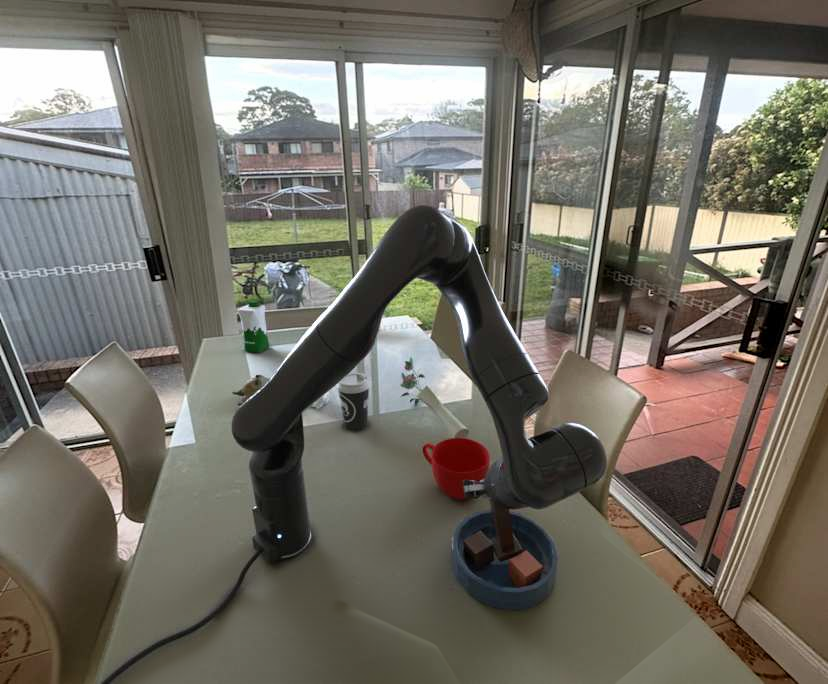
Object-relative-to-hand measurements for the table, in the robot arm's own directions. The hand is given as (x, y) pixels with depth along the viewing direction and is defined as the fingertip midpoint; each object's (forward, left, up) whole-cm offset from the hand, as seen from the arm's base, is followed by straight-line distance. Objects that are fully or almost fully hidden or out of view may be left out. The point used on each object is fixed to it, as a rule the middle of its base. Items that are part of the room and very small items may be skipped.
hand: (493, 490), depth 78 cm
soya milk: (+30, +129, -15) cm, 133 cm away
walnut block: (-2, +1, -15) cm, 15 cm away
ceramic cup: (+12, +17, -16) cm, 26 cm away
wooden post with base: (0, -3, -12) cm, 12 cm away
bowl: (0, -3, -16) cm, 16 cm away
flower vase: (+34, +41, -16) cm, 55 cm away
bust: (+18, +73, -16) cm, 77 cm away
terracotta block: (-1, -8, -15) cm, 17 cm away
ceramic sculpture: (+7, +90, -16) cm, 91 cm away
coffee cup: (+16, +54, -16) cm, 58 cm away
